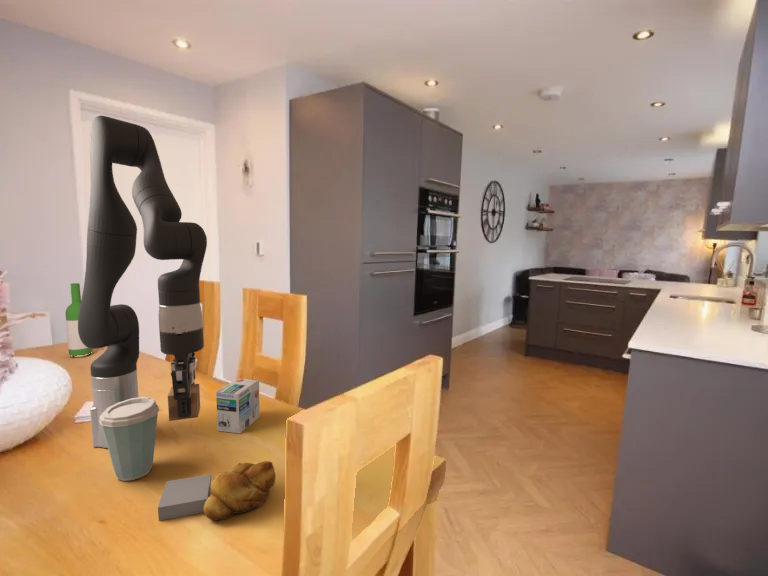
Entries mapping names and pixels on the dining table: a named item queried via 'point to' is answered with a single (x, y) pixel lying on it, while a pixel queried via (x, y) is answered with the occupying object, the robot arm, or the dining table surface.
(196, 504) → the slate coaster
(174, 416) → the walnut cube
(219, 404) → the light bulb box
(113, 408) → the disposable coffee cup
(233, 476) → the bread roll
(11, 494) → the dining table surface
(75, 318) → the wine bottle
